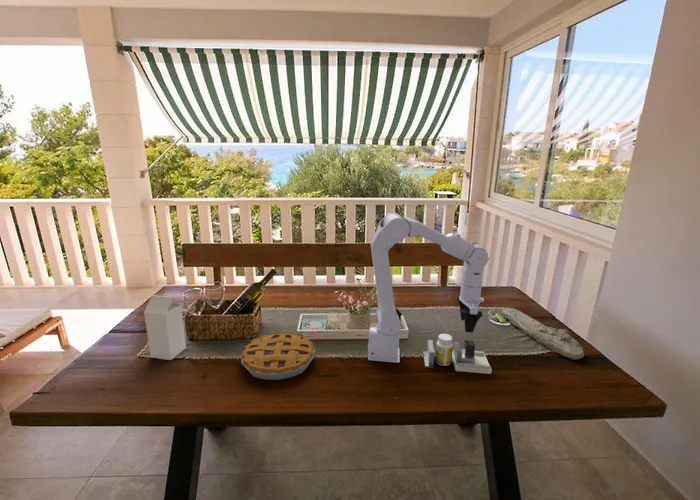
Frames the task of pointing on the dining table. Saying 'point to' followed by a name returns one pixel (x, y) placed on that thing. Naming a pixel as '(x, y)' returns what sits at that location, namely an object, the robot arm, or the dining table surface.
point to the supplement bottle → (444, 350)
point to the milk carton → (164, 327)
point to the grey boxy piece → (465, 352)
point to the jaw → (429, 355)
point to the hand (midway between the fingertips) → (466, 325)
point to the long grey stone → (545, 334)
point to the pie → (278, 355)
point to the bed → (478, 367)
